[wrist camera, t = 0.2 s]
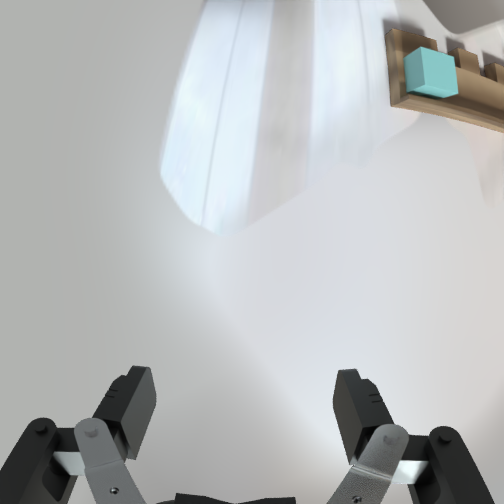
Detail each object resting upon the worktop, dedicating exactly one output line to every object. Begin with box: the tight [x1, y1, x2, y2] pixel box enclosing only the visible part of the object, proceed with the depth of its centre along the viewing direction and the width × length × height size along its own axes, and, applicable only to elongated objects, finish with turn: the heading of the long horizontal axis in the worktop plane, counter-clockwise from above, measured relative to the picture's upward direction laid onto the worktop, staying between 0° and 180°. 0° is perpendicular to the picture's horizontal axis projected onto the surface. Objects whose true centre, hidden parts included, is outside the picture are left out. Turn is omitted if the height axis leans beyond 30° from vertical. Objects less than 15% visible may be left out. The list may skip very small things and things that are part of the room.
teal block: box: [403, 47, 458, 100], centre depth 29 cm, size 5×5×5 cm
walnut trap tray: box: [385, 29, 504, 133], centre depth 31 cm, size 11×26×6 cm, turn 90°
